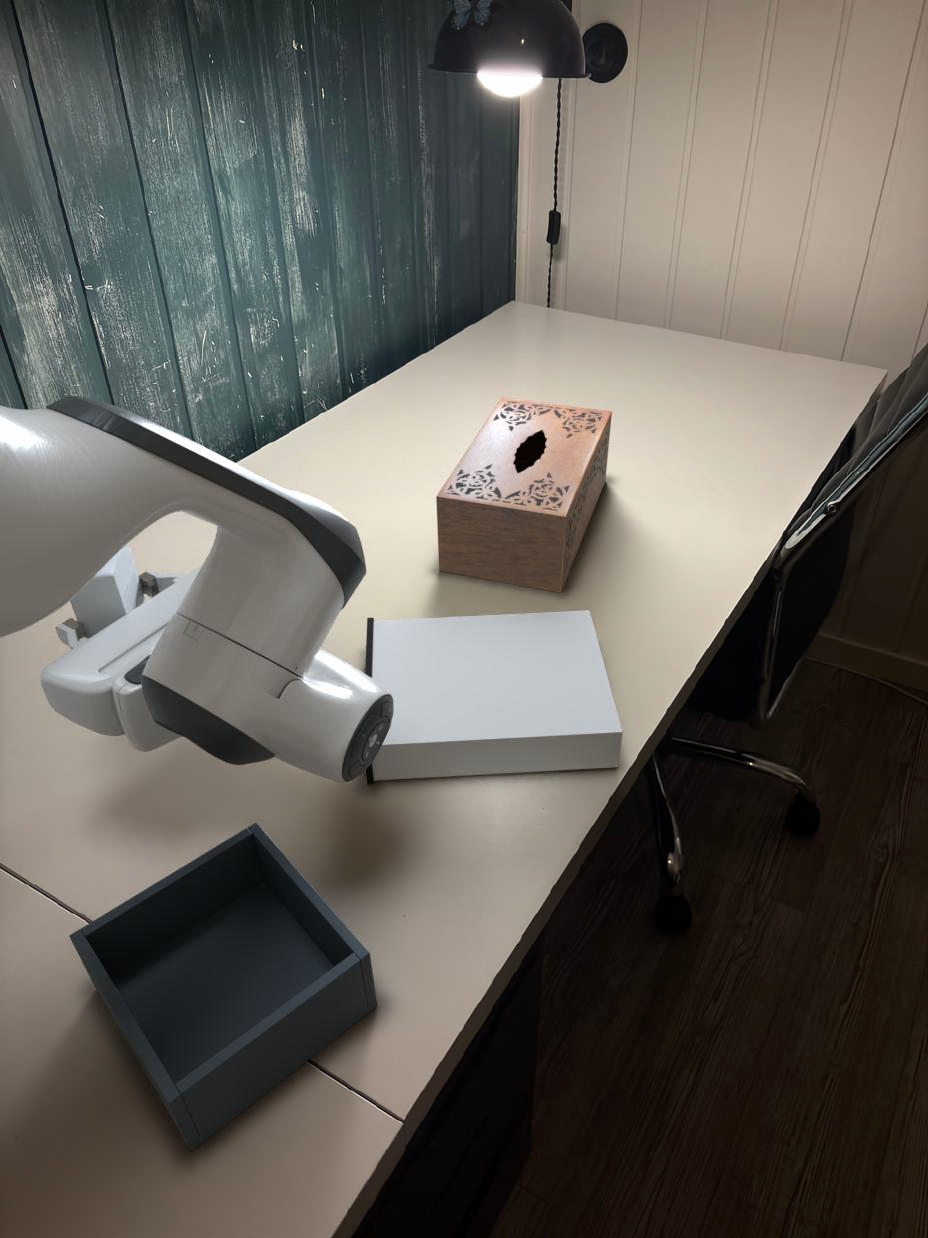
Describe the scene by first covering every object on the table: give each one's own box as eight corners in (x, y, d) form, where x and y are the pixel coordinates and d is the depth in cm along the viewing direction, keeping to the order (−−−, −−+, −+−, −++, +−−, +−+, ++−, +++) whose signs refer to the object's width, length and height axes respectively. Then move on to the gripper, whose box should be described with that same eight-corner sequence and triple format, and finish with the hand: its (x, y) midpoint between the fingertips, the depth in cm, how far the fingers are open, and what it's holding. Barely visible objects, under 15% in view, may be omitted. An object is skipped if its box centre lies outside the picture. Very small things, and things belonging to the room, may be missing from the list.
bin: (191, 1152, 58) (168, 1103, 53) (95, 988, 66) (68, 935, 62) (377, 1006, 65) (370, 953, 61) (269, 875, 74) (256, 821, 69)
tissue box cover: (501, 465, 125) (501, 397, 119) (605, 480, 122) (611, 411, 115) (439, 570, 106) (436, 496, 100) (560, 592, 103) (565, 516, 96)
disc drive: (369, 654, 95) (365, 617, 92) (586, 644, 96) (589, 606, 92) (365, 785, 81) (360, 746, 78) (618, 771, 82) (623, 732, 79)
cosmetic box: (112, 645, 85) (76, 537, 78) (159, 641, 86) (128, 533, 78) (99, 689, 80) (59, 578, 73) (148, 685, 81) (114, 574, 73)
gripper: (301, 566, 78) (188, 518, 84) (105, 706, 65) (-12, 637, 71) (309, 624, 82) (201, 574, 88) (126, 767, 69) (14, 697, 75)
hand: (104, 603), depth 79 cm, fingers closed on cosmetic box, 7 cm apart
